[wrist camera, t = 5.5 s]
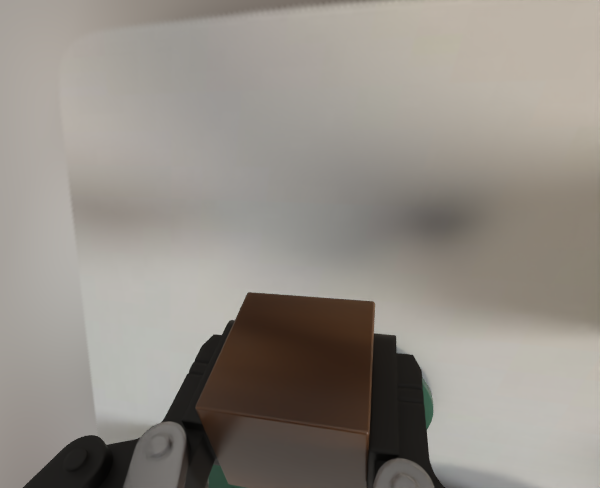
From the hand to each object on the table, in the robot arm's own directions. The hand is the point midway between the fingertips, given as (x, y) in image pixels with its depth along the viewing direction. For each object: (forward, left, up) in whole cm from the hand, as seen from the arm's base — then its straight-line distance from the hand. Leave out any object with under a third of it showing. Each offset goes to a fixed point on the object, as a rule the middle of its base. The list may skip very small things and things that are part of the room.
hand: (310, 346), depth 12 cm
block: (0, 0, 0) cm, 0 cm away
